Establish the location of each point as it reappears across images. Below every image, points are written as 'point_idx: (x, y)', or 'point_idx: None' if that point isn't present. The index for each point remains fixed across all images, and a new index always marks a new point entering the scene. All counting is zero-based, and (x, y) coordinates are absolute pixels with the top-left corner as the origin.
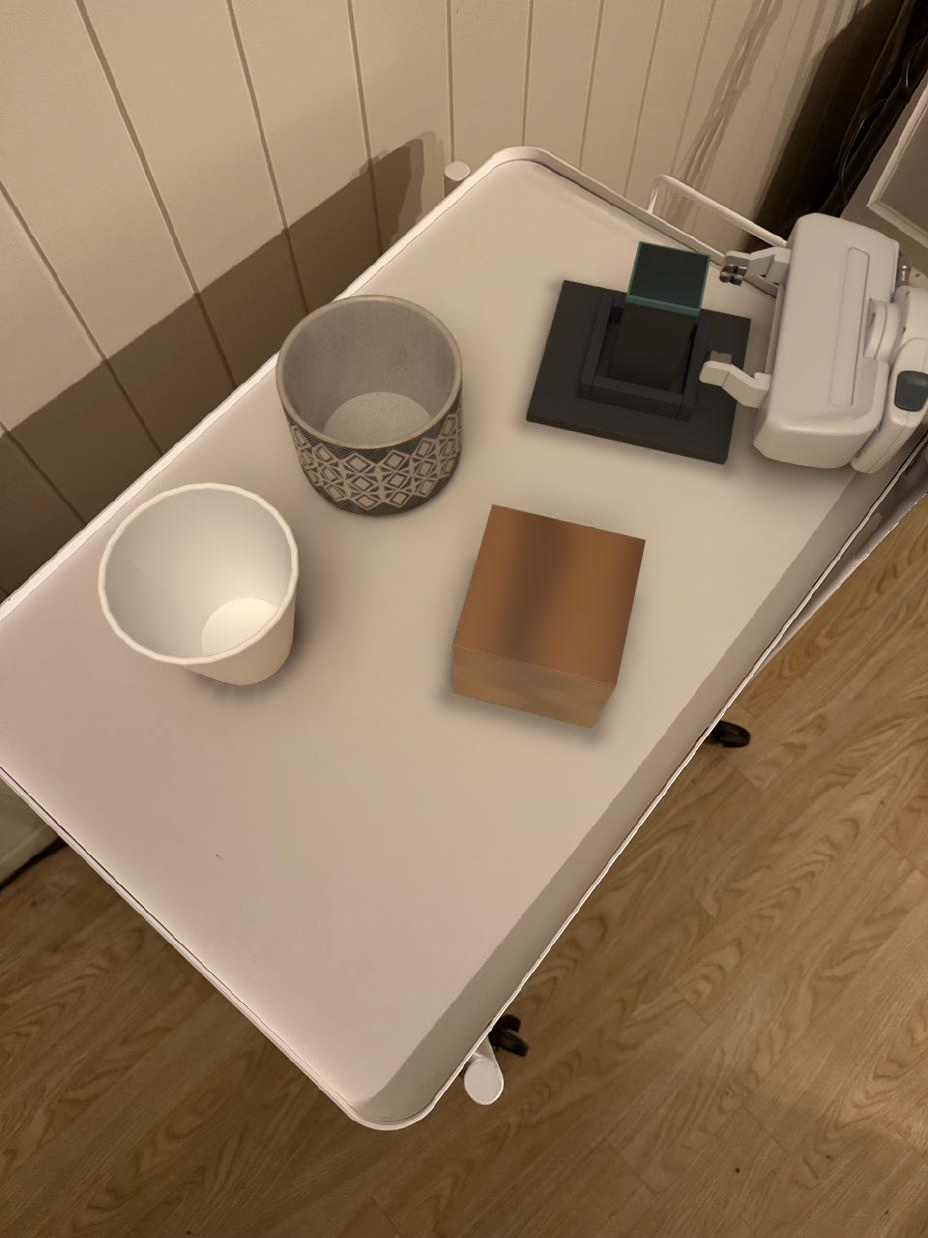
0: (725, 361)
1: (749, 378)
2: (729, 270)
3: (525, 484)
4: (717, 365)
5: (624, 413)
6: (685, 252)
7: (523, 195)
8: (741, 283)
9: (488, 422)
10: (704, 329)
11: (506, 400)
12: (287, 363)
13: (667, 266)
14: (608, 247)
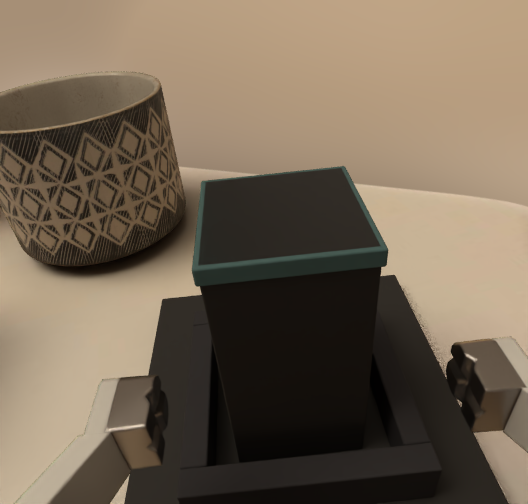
0: (119, 417)
1: (43, 498)
2: (460, 364)
3: (67, 336)
4: (101, 400)
5: (185, 405)
6: (361, 214)
7: (498, 222)
8: (472, 427)
9: (157, 282)
10: (395, 462)
11: (193, 287)
12: (81, 84)
13: (302, 202)
14: (506, 311)
